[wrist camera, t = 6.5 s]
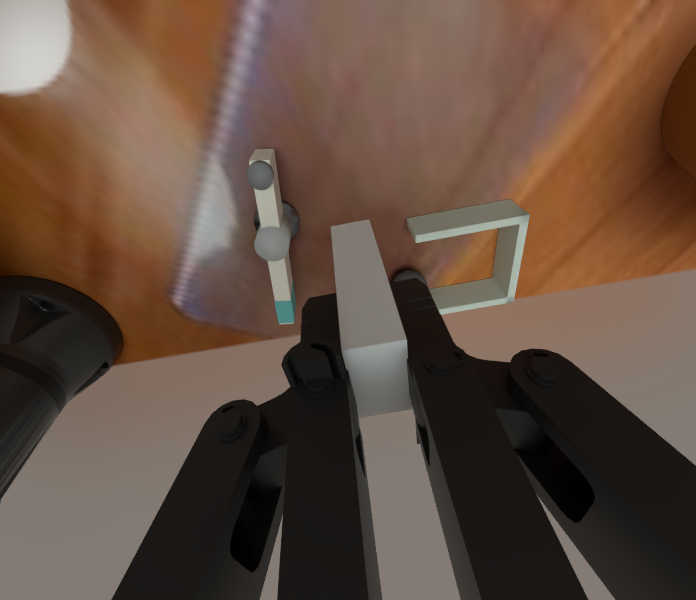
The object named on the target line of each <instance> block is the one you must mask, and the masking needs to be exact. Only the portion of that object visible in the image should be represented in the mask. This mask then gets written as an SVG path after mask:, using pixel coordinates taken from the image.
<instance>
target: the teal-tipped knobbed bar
mask: <svg viewBox="0 0 696 600" xmlns="http://www.w3.org/2000/svg"><path fill="white" fill-rule="evenodd" d="M249 165H250V166H249V168H248V170H247V174H246V177H247V181H248V183H249V184H250V185H251V186H252V187H253V188H254V191H255V197H256V202H257V207H258V213H259V218H260V226H259V229H258V232H257V236H256V239H255V242H254V247H255V250H256V252H257V254H258V255H259V256H260V257H261V258H263V259H265V260H267V261H268V266H269V271H270V277H271V282H272V287H273V293H274V298H275V307H276V312H277V317H278V323H279V325H280V324H294V322H295V309H296V298H295V291H294V283H293V280H292V273H291V266H290V258H289V245H290V237H291V229H292V222H291V220H290V218H289V216H288V215H287V214H285V213H284V212H283V208H282V201H281V194H280V187H279V180H278V173H277V165H276V158H275V151H274V149H255V151H254V153H253V154H252V156H251V158H250V159H249Z"/></svg>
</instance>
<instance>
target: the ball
mask: <svg viewBox="0 0 696 600" xmlns="http://www.w3.org/2000/svg"><path fill="white" fill-rule="evenodd" d="M411 278H418V279H419V280H420V281H421V282H423V283H424V284H425V285H427V283H426V280H425V278H424V277H423V276H422V275H421V274H420V273H418V272H416V271H411V270H408V271H404V272H401V273H400V274H398V275H397V276H396V277H395V279H394V280H393V282H395V281H400V280H406V279H411Z"/></svg>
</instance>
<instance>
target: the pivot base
mask: <svg viewBox="0 0 696 600" xmlns="http://www.w3.org/2000/svg"><path fill="white" fill-rule="evenodd" d="M281 201H282V208H283V212H284V213H285V214H287V215H288V216H289V218H290V220H291V222H292V229H291V237H290V240H291V239H292V238H293V237H294V236H295V235H296V234H297V232H298V229H299V216H298V213H297V211H296V210H295V208H294V207H293V206H292V205H291V204H289V203H288V202H286V201H283V200H281ZM254 224H255V227H256V230H257V231H258V229H259V226H260V218H259V213H258V209H257V211H256V214H255V217H254Z"/></svg>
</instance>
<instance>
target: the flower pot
mask: <svg viewBox="0 0 696 600" xmlns="http://www.w3.org/2000/svg"><path fill="white" fill-rule="evenodd" d="M661 132H662V139H663V143H664V145H665V148H666V150H667V152H668V153H669V154H670V156H671V157H672V158H673V159H674V160H675V161H676V162H678V163H679V164H680V165H681V166H682V167H683V168H684V169H685V170H687V171H688V172H689V173H690V174H691V175H692V176H693V177H695V178H696V45H695V47H694V48H693V49H692V51H691V52H690V53H689V55H688V56H687V58H686V59H685V61H684V62H683V64H682V65H681V67H680V69H679V71H678V72H677V74H676V76H675V78H674V80H673V82H672V84H671V87H670V89H669V92H668V94H667V97H666V100H665V104H664V108H663V113H662V121H661Z"/></svg>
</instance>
